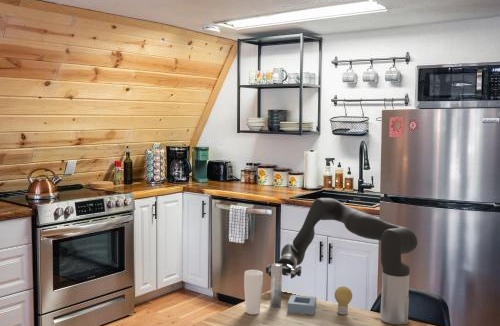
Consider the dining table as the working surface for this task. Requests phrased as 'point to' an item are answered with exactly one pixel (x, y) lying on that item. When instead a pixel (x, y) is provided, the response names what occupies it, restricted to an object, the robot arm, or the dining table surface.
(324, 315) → the dining table surface
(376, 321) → the dining table surface
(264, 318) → the dining table surface
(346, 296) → the light bulb
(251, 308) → the drinking glass
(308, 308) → the blue square frame
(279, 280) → the steel pin
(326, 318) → the dining table surface
